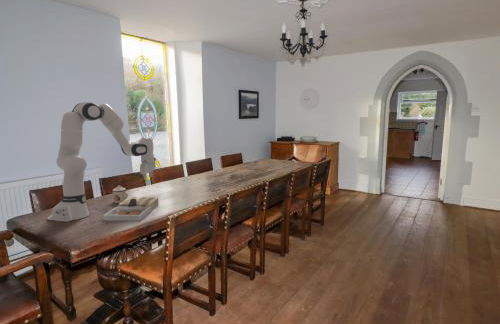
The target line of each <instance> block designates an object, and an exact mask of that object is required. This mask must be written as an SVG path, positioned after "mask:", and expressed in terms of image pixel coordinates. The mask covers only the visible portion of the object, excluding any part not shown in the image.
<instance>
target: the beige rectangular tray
mask: <svg viewBox="0 0 500 324" xmlns="http://www.w3.org/2000/svg"><path fill="white" fill-rule="evenodd" d="M131 199H136V201H137V203H136V205H135V206H143V207H151V211H152V210H154V209H155V208H156V207H157V206H159V204H160V203H159V197H158V196H157V197H156V196H154V197H153V196H129V197H127V199H126V200H125V201H123V202H121V203H118V206H128V204H129V202H130V200H131Z"/></svg>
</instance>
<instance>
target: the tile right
mask: <svg viewBox="0 0 500 324" xmlns="http://www.w3.org/2000/svg"><path fill="white" fill-rule="evenodd" d="M140 214H141V212H130V215H140Z"/></svg>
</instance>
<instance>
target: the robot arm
mask: <svg viewBox="0 0 500 324" xmlns="http://www.w3.org/2000/svg"><path fill="white" fill-rule="evenodd" d="M61 118H62V119H61V124H60V125H61V126H60V144H59V149H58V155H57V158H56V161H55V162H56V165H57V167H59V169H60V170H62V171H63V174H64V175H63V181H62V191H63V195H61V196H59V197H58V198H59V200H60V202H58V203H57V204H56V205H55V206H54V207H52V209H51V214H50V215H49V216H48V217H47V219H46V220H48V221H56V222H67V223H68V222H70V221H71V222H72V221H75V220H81V219H84V218H87V217H89V216H90V211H89V209H88V207H87V203H86V202H87V196H86V195H87V194H86V192H85V184H84V180H85V171H86V168H87V164H88V163H87V160H86V159H84V157H82V156H81V155H80V151H81V147H82V145H83V130H84V129H83V126H84V123H85V121H97V120H99V121H100V122H101V123H102V125H103V126H104V127H105V128H106V129H107V130H108V131H109V133H110V134H111V135H112V136H113V138H114V139H115V140H116V141H117V143H118V144H119V146H120V149H121V152H122V153H123V154H124V155H125V156H128V157H129V156H130V157H131V156H133V157H140V162H141V163H140V164H139V165H140V166H139V174H140V175H142V177H143V180H145V181H146V180H147V179H148V177H149V178H152V177H153V173H154V171H156V161H157V158H156V157H155V155H154V141H153V139H152V138H151V137H144V136H143V137H141V138H140V139H138V140H137V141H135V142H134V141H130V140H129V139H128V138H127V137H126V135H125V134H124V132H123V131H122V130H123V128H124V121H123V119H122V117H121V116H120V115H119V113H117V112H116V110H115V109H114V108H112V106H111V105H109V104H108V103H101V104H97V103H94V102H85V101H84V102H79V103H77V104H75V106H74V107H73V109H72V111H68V112H67V111H66V113H64V114H63V115H62V117H61ZM147 175H148V177H147Z"/></svg>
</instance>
